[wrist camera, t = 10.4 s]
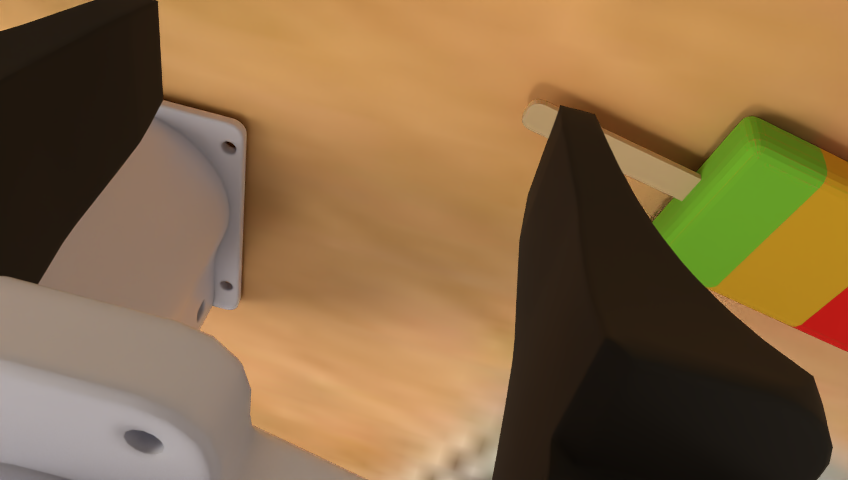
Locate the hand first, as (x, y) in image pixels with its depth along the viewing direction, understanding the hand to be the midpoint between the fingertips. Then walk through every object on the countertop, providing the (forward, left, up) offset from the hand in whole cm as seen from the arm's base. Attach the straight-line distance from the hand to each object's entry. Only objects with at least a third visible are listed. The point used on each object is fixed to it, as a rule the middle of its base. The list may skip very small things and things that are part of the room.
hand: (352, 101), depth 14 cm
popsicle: (-6, -11, -10) cm, 16 cm away
